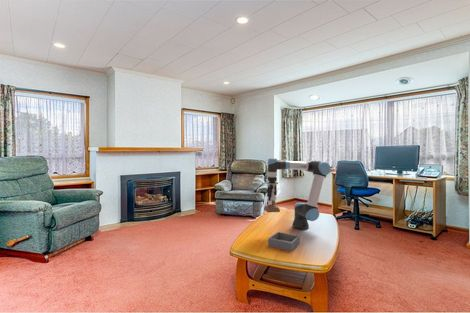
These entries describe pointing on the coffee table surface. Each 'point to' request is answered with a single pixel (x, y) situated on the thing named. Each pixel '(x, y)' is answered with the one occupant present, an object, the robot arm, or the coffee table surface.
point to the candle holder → (272, 207)
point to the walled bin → (284, 241)
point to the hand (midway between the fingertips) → (271, 203)
